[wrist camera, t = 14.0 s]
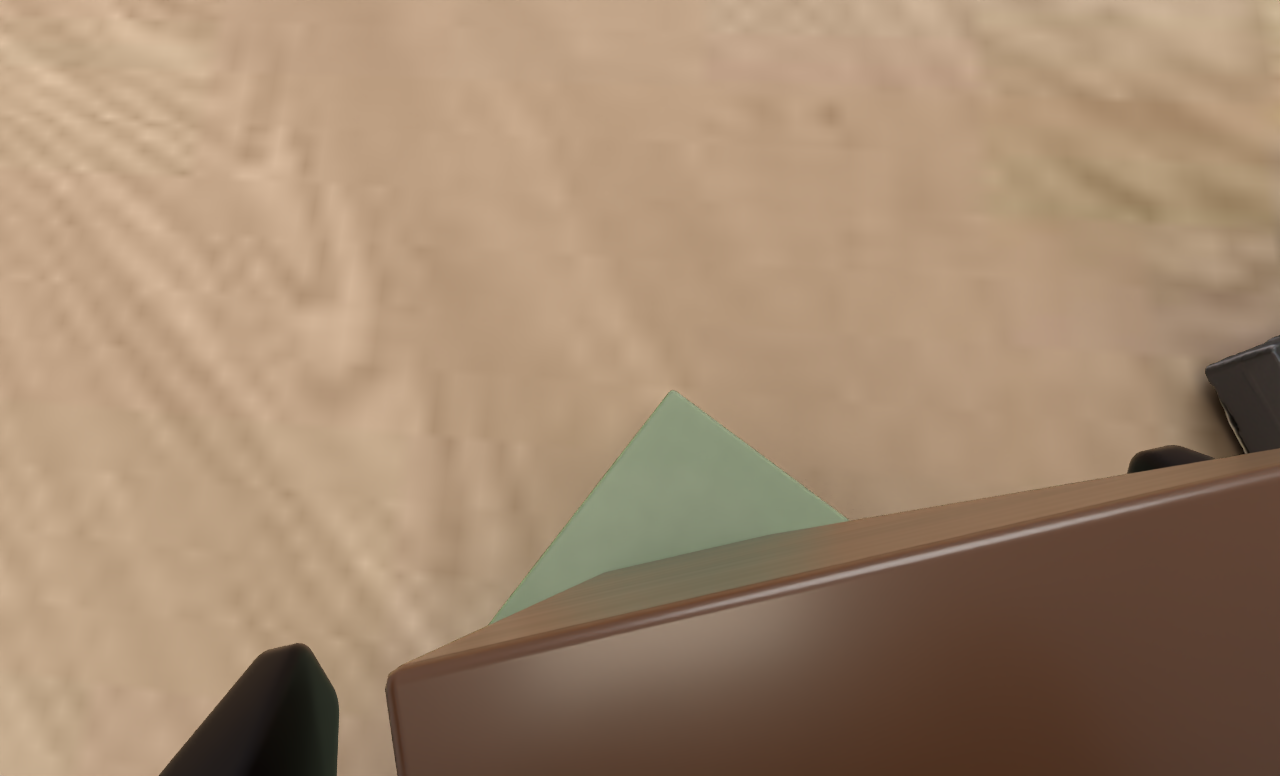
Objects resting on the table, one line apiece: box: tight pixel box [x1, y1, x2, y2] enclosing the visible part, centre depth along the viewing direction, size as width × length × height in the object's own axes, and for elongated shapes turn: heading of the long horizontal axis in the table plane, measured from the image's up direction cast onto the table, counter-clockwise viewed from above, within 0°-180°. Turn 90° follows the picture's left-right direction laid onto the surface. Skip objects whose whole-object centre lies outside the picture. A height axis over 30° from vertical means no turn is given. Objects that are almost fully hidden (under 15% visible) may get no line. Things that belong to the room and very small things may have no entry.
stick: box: [385, 448, 1280, 776], centre depth 8 cm, size 3×3×13 cm
